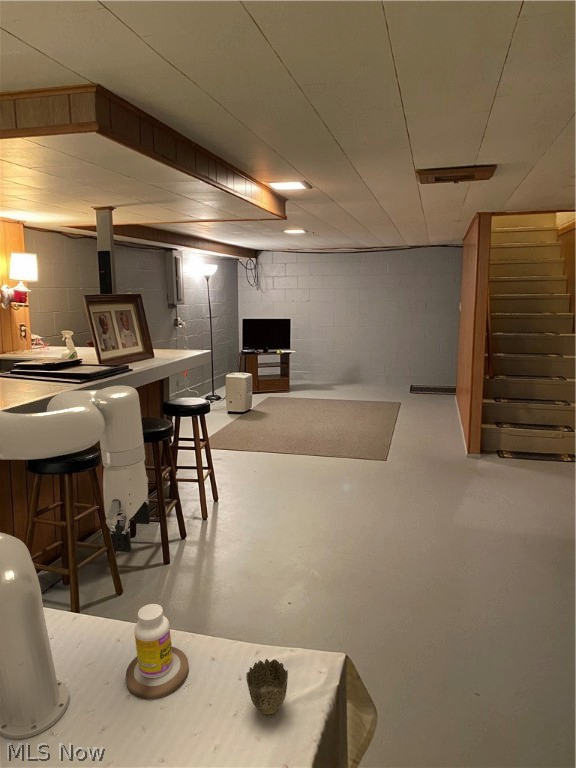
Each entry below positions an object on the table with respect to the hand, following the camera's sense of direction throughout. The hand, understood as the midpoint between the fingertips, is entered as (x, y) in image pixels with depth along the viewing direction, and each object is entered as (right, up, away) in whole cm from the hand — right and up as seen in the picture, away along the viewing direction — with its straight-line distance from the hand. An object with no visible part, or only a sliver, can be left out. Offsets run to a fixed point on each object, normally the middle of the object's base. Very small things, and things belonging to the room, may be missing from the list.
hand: (133, 536), depth 107 cm
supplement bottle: (+4, -27, +4) cm, 28 cm away
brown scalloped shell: (+26, -30, -5) cm, 40 cm away
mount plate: (+4, -28, +4) cm, 29 cm away
